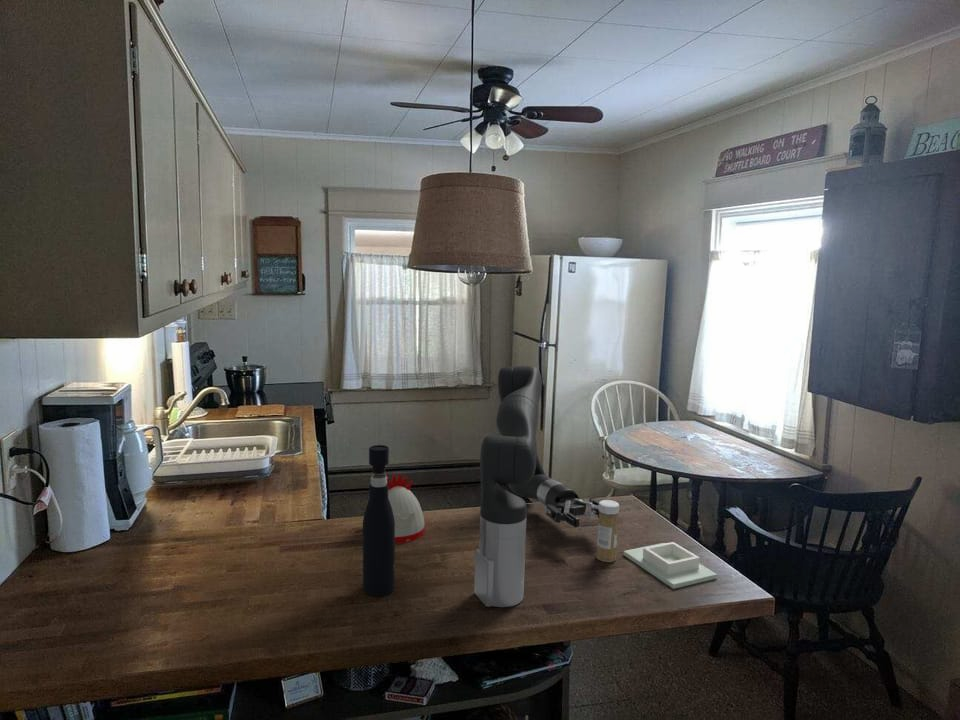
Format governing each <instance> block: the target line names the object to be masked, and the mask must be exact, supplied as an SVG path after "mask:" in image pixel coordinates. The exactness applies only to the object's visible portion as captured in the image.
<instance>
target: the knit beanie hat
mask: <svg viewBox="0 0 960 720" xmlns="http://www.w3.org/2000/svg"><path fill="white" fill-rule="evenodd" d="M385 475H386V477H387V484H388V498H389V501H390V504H391V507H392V510H393V515H394V521H395V544H403V543H409V542H413V541H415V540H418V539H420V538H421V537H422V536H423V535H424V534H425V518H424V513H423V510H422V508H421V505H420V502H419V500H418V498H417V497H416V496H415V495H414V494H413V492H412V491H411V488H412V485H413V480H410V481H409V483H408V484H407V481H408V477H407V476H406V475H405V476H404V478H403V479H402V474H401V472H399V473H398V475H397V478H396V475H395V473H393V474H392V478H391V481H390V480H389V479H390V478H389V477H388V475H387V474H385ZM396 479H397V480H396ZM406 484H407V485H406Z"/></svg>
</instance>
